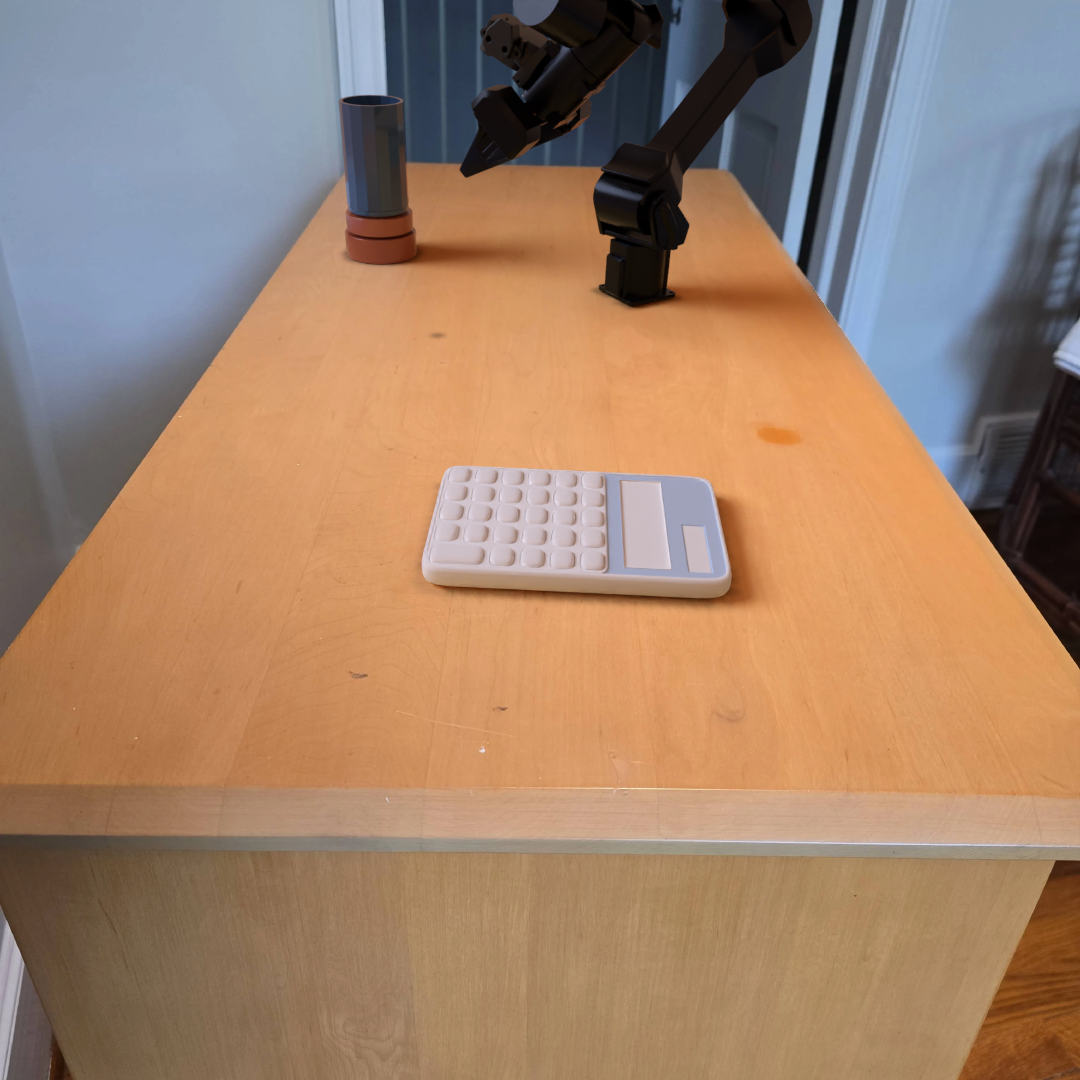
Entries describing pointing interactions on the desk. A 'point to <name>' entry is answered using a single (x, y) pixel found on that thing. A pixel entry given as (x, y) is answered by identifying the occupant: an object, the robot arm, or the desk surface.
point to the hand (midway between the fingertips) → (482, 164)
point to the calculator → (577, 533)
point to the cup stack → (380, 238)
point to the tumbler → (374, 154)
